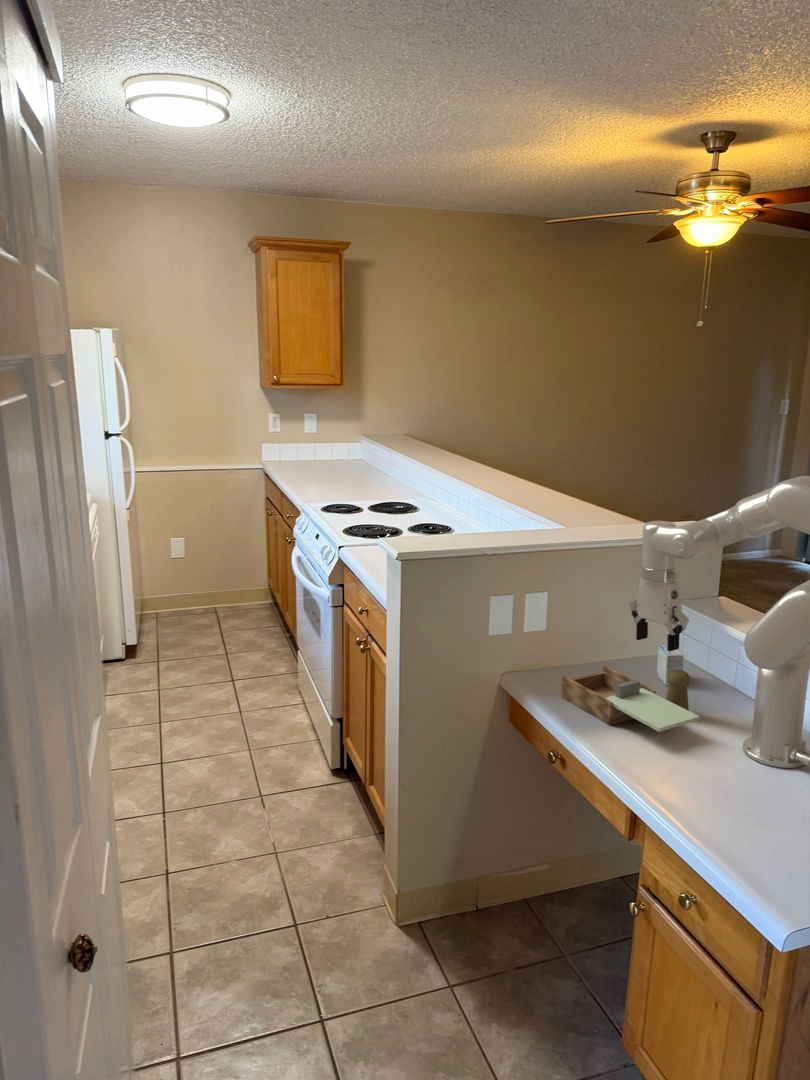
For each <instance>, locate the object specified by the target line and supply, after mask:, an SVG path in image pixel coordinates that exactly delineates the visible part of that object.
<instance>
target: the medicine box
mask: <svg viewBox="0 0 810 1080" xmlns="http://www.w3.org/2000/svg"><path fill="white" fill-rule="evenodd" d="M656 659H657V661H656V675H657V676H658V677H659V679H660V680H661V681H662V682H663V684H664V685H665V686H669V683H668V682H667V675H668V673H669V672H670V671H672V670H682V671H684V654H683V653H682V652H681V651H680V650H679V649H677V650H673V651H668V650H667V644H659V645H658V646H657V658H656Z"/></svg>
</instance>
